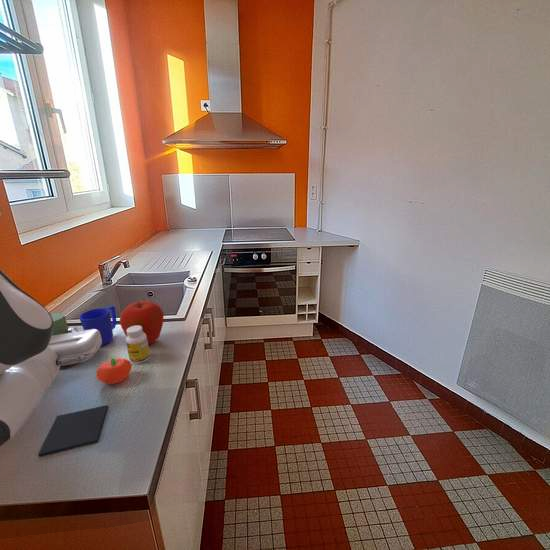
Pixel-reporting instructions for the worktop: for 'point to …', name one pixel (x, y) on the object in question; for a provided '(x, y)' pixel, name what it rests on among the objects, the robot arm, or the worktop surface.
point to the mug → (100, 322)
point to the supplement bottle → (137, 345)
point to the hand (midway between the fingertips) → (56, 332)
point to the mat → (74, 430)
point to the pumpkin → (114, 371)
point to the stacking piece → (59, 323)
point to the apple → (143, 318)
